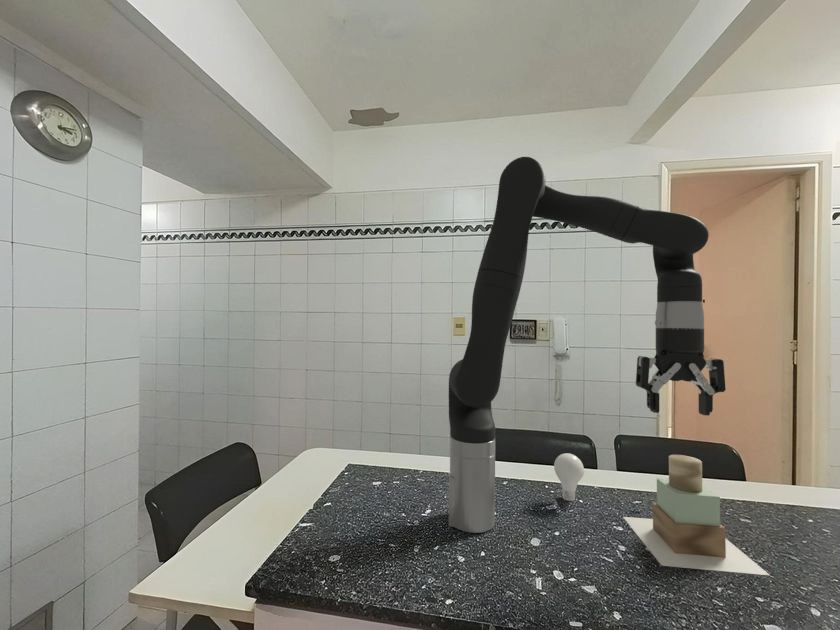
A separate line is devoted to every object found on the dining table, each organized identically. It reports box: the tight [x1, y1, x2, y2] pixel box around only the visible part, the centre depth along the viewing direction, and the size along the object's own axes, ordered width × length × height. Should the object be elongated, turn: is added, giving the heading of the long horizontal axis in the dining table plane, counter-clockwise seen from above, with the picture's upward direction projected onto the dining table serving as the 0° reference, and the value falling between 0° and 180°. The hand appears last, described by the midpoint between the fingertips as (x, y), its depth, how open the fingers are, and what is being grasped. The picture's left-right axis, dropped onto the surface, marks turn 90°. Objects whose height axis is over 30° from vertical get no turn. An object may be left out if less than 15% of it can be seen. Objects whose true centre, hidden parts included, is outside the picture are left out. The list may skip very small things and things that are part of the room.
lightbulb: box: [553, 452, 585, 502], centre depth 86 cm, size 6×6×11 cm
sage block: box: [656, 477, 721, 526], centre depth 69 cm, size 7×7×5 cm
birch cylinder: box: [668, 454, 703, 493], centre depth 69 cm, size 5×5×5 cm
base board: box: [622, 516, 771, 576], centre depth 69 cm, size 16×16×1 cm
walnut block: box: [652, 502, 726, 558], centre depth 69 cm, size 8×8×5 cm
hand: (679, 413), depth 70 cm, fingers open, 8 cm apart
